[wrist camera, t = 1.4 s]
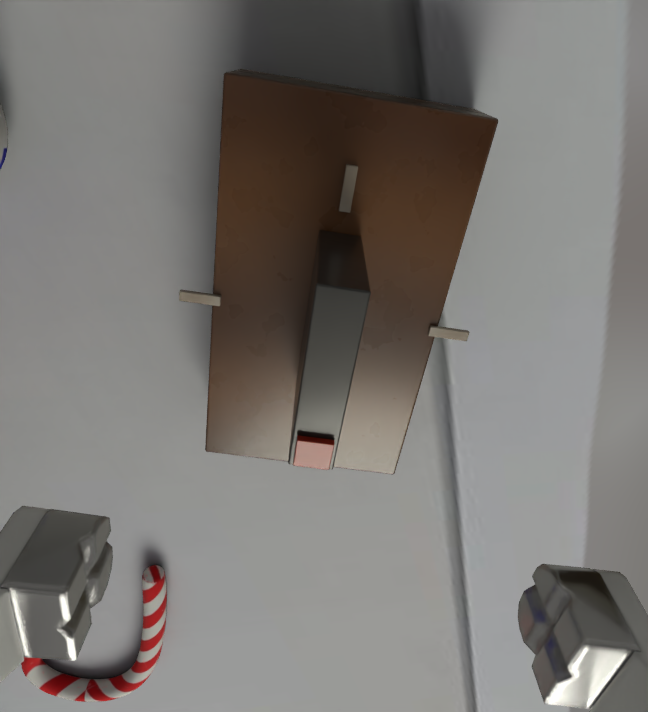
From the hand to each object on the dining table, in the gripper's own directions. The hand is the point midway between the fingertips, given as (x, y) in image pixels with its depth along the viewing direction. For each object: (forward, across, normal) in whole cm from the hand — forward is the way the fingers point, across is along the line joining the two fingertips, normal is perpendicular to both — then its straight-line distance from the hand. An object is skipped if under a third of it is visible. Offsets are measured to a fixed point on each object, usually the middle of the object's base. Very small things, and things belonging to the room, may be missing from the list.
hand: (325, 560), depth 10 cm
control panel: (+13, 0, 0) cm, 13 cm away
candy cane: (+14, +10, +24) cm, 30 cm away
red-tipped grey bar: (+10, 0, 0) cm, 10 cm away
